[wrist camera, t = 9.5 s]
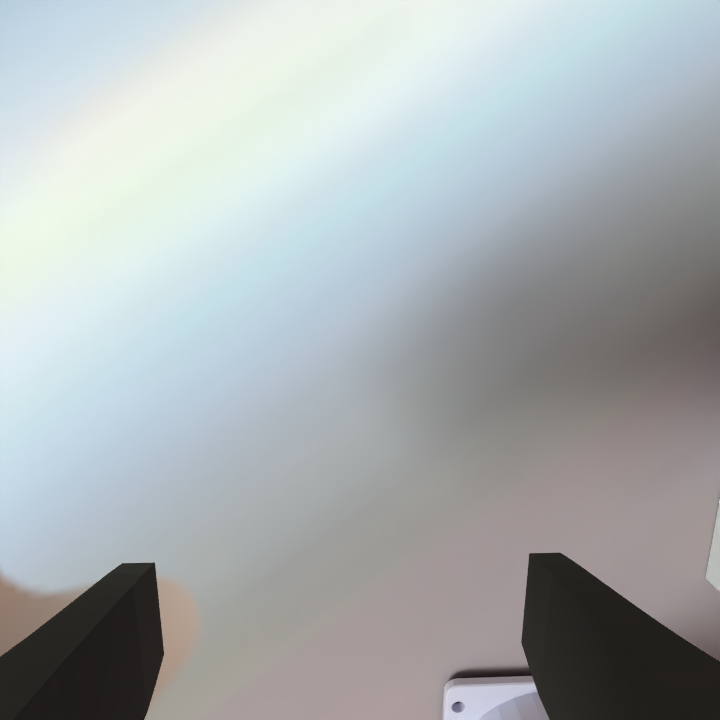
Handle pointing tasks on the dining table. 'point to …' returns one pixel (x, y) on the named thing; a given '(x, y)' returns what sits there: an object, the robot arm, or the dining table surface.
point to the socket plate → (715, 556)
